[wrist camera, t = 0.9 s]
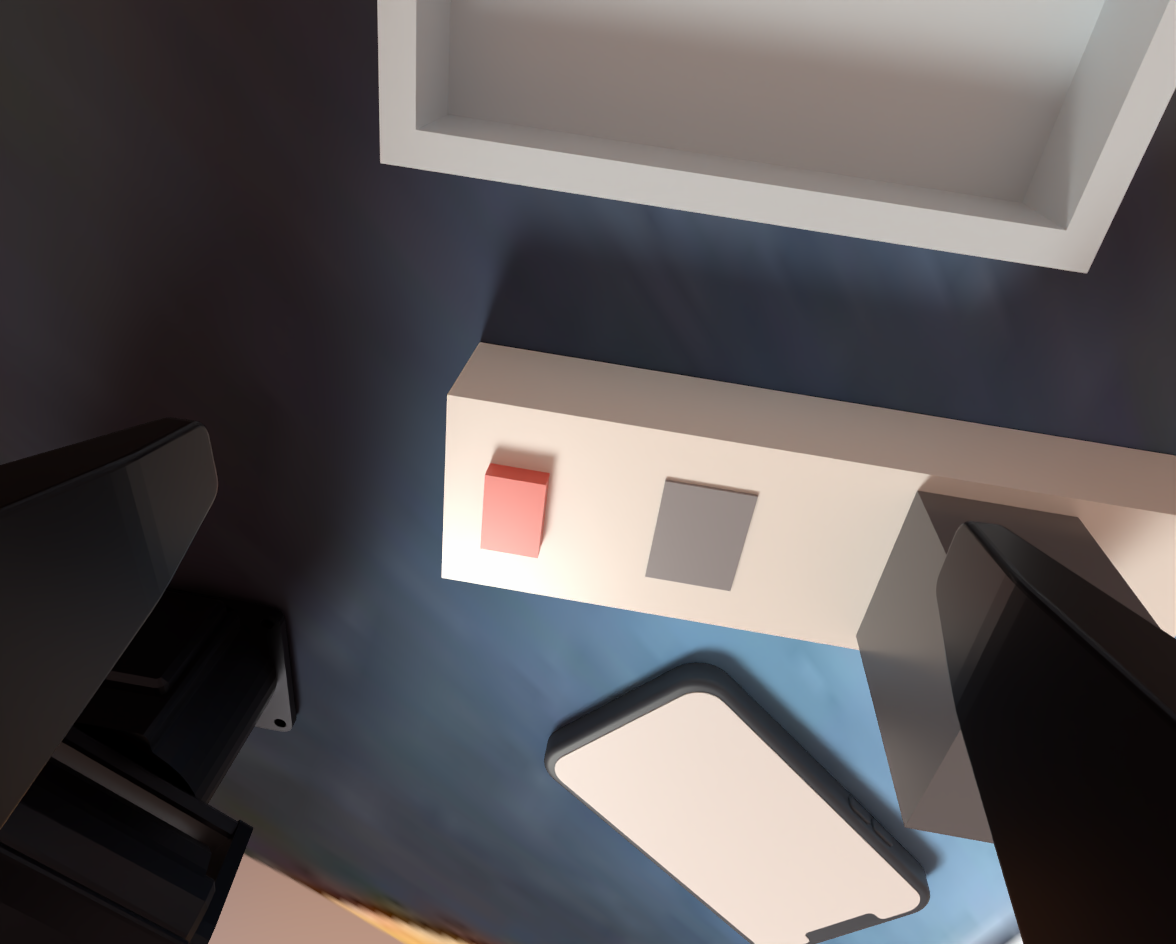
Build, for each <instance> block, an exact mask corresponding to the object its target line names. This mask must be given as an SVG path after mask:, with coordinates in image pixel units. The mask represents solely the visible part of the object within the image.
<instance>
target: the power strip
mask: <svg viewBox="0 0 1176 944" xmlns="http://www.w3.org/2000/svg"><path fill="white" fill-rule="evenodd" d="M917 490H918V491H924V492H930V493H936V494H942V495H948V496H954V497H960V498H966V499H972V500H978V501H984V502H990V503H996V504H1002V505H1008V506H1014V507H1020V508H1026V509H1032V510H1038V511H1044V512H1050V513H1056V514H1062V515H1068V516H1074V517H1078V518H1079V519H1080V520H1081V522H1082V523H1083V524H1084V526H1085V527H1086V528H1087V530H1088V531H1089V533H1090V534H1091V535H1092V537H1093V538H1094V539H1095V541H1096V542H1097V543H1098V545H1099V546H1100V547H1101V549H1102V550H1103V551H1104V553H1105V554H1106V555H1107V557H1108V558H1109V560H1110V561H1111V562H1112V564H1113V565H1114V566H1115V568H1116V569H1117V570H1118V572H1119V573H1120V574H1121V576H1122V577H1123V578H1124V580H1125V581H1126V583H1127V584H1128V585H1129V587H1130V588H1131V589H1132V591H1133V592H1134V593H1135V595H1136V596H1137V597H1138V599H1139V600H1140V601H1141V603H1142V604H1143V605H1144V607H1145V608H1146V610H1147V611H1148V612H1149V614H1150V615H1151V616H1152V618H1153V619H1154V620H1155V622H1156V623H1157V624H1158V626H1159V627H1160V628H1161V629H1162V630H1163V631H1165V632H1166V633H1168V634H1169V635H1171V636H1172V637H1175V635H1176V456H1174V455H1168V454H1162V453H1156V452H1150V451H1144V450H1138V449H1131V448H1125V447H1119V446H1113V445H1107V444H1101V443H1095V442H1089V441H1082V440H1076V439H1070V438H1064V437H1058V436H1052V435H1046V434H1039V433H1033V432H1027V431H1021V430H1015V429H1009V428H1003V427H997V426H990V425H984V424H978V423H972V422H966V421H960V420H954V419H947V418H941V417H935V416H929V415H923V414H917V413H911V412H905V411H898V410H892V409H886V408H880V407H874V406H868V405H862V404H856V403H849V402H843V401H837V400H831V399H825V398H819V397H813V396H806V395H800V394H794V393H788V392H782V391H776V390H770V389H764V388H757V387H751V386H745V385H739V384H733V383H727V382H721V381H715V380H708V379H702V378H696V377H690V376H684V375H678V374H672V373H665V372H659V371H653V370H647V369H641V368H635V367H629V366H623V365H616V364H610V363H604V362H598V361H592V360H586V359H580V358H574V357H567V356H561V355H555V354H549V353H543V352H537V351H531V350H524V349H518V348H512V347H506V346H500V345H494V344H488V343H482V342H479V344H478V346H477V347H476V349H475V351H474V352H473V354H472V355H471V357H470V359H469V360H468V362H467V364H466V365H465V367H464V368H463V370H462V372H461V373H460V375H459V376H458V378H457V380H456V381H455V383H454V385H453V386H452V388H451V389H450V391H449V393H448V394H447V419H446V452H445V485H444V517H443V550H442V578H447V579H453V580H459V581H464V582H470V583H476V584H482V585H487V586H493V587H499V588H505V589H510V590H516V591H522V592H528V593H534V594H539V595H545V596H551V597H557V598H562V599H568V600H574V601H580V602H585V603H591V604H597V605H603V606H609V607H614V608H620V609H626V610H632V611H637V612H643V613H649V614H655V615H660V616H666V617H672V618H678V619H684V620H689V621H695V622H701V623H707V624H712V625H718V626H724V627H730V628H736V629H741V630H747V631H753V632H759V633H764V634H770V635H776V636H782V637H787V638H793V639H799V640H805V641H811V642H816V643H822V644H828V645H834V646H839V647H845V648H851V649H857V650H859V646H858V642H857V638H856V634H857V632H858V629H859V627H860V625H861V622H862V620H863V618H864V615H865V613H866V611H867V608H868V606H869V603H870V601H871V599H872V596H873V594H874V592H875V589H876V587H877V584H878V582H879V580H880V577H881V575H882V573H883V570H884V568H885V566H886V563H887V561H888V558H889V556H890V554H891V551H892V549H893V547H894V544H895V542H896V539H897V537H898V535H899V532H900V530H901V528H902V525H903V523H904V520H905V518H906V516H907V513H908V511H909V509H910V506H911V504H912V502H913V499H914V497H915V494H916V492H917Z"/></svg>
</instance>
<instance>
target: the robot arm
mask: <svg viewBox="0 0 1176 944" xmlns="http://www.w3.org/2000/svg"><path fill="white" fill-rule="evenodd" d="M217 489H218V477H217V472H216V467H215V462H214V458H213V453H212V448H211V443H210V438H209V434H208V431H207V429H206V427H205V426H204V425H203V424H202V423H200V422H198V421H194V420H187V419H179V418H163V419H160V420H156V421H153V422H149V423H146V424H142V425H139V426H135V427H132V428H128V429H125V430H121V431H118V432H114V433H111V434H107V435H104V436H100V437H97V438H93V439H90V440H86V441H83V442H79V443H76V444H72V445H69V446H65V447H62V448H59V449H55V450H52V451H48V452H45V453H41V454H38V455H34V456H31V457H27V458H24V459H20V460H17V461H13V462H10V463H6V464H3V465H0V944H208V942H209V940H210V938H211V936H212V933H213V931H214V929H215V927H216V924H217V921H218V919H219V916H220V914H221V911H222V908H223V906H224V903H225V901H226V898H227V895H228V893H229V890H230V888H231V885H232V882H233V880H234V877H235V874H236V872H237V870H238V867H239V864H240V862H241V859H242V857H243V854H244V851H245V849H246V846H247V844H248V841H249V838H250V836H251V833H252V831H253V827H252V826H250V825H248V824H247V823H245V822H243V821H241V820H239V821H236V820H234V819H232V818H230V817H229V816H227V815H225V814H224V813H222V812H220V811H219V810H217V809H215V808H213V807H212V806H210V805H208V803H209V801H210V799H211V798H212V796H213V794H214V793H215V791H216V789H217V788H218V786H219V784H220V783H221V781H222V779H223V778H224V776H225V775H226V773H227V771H228V770H229V768H230V766H231V765H232V763H233V761H234V760H235V758H236V756H237V755H238V753H239V751H240V750H241V748H242V746H243V745H244V743H245V741H246V740H247V738H248V736H249V735H250V733H251V731H252V730H253V728H254V727H260V728H266V729H271V730H277V731H285V732H286V731H289V730H290V729H291V728H292V727H293V725H294V723H295V721H296V710H295V701H294V693H293V684H292V675H291V666H290V657H289V648H288V640H287V631H286V622H285V617H284V615H283V614H282V612H281V611H279V610H278V609H276V608H273V607H269V606H264V605H258V604H252V603H247V602H241V601H235V600H230V599H224V598H218V597H212V596H207V595H201V594H195V593H190V592H184V591H178V590H173V589H167V586H168V585H169V583H170V581H171V580H172V578H173V576H174V574H175V572H176V570H177V568H178V567H179V565H180V563H181V561H182V559H183V557H184V555H185V554H186V552H187V550H188V548H189V546H190V544H191V543H192V541H193V539H194V537H195V535H196V533H197V531H198V530H199V528H200V526H201V524H202V522H203V520H204V518H205V517H206V515H207V513H208V511H209V509H210V507H211V505H212V504H213V502H214V500H215V497H216V494H217ZM936 601H937V607H938V613H939V619H940V625H941V631H942V637H943V643H944V649H945V656H946V662H947V668H948V674H949V680H950V686H951V692H952V697H953V702H954V707H955V711H956V715H957V719H958V723H959V726H960V730H961V733H962V737H963V740H964V744H965V747H966V750H967V754H968V757H969V761H970V764H971V767H972V771H973V774H974V778H975V781H976V784H977V788H978V791H979V795H980V798H981V801H982V805H983V808H984V812H985V815H986V818H987V822H988V825H989V829H990V832H991V835H992V839H993V842H994V846H995V849H996V852H997V856H998V859H999V863H1000V866H1001V869H1002V873H1003V876H1004V879H1005V883H1006V886H1007V890H1008V893H1009V896H1010V900H1011V903H1012V907H1013V910H1014V913H1015V917H1016V920H1017V924H1018V927H1019V930H1020V934H1021V937H1022V941H1023V944H1176V639H1175V638H1174V637H1172V636H1171V635H1169V634H1168V633H1166V632H1165V631H1163V630H1162V629H1160V628H1159V627H1157V626H1155V625H1154V624H1152V623H1151V622H1149V621H1148V620H1146V619H1145V618H1143V617H1142V616H1140V615H1139V614H1137V613H1136V612H1134V611H1133V610H1131V609H1129V608H1128V607H1126V606H1125V605H1123V604H1122V603H1120V602H1119V601H1117V600H1116V599H1114V598H1113V597H1111V596H1110V595H1108V594H1107V593H1105V592H1103V591H1102V590H1100V589H1099V588H1097V587H1096V586H1094V585H1093V584H1091V583H1090V582H1088V581H1087V580H1085V579H1084V578H1082V577H1081V576H1079V575H1078V574H1076V573H1074V572H1073V571H1071V570H1070V569H1068V568H1067V567H1065V566H1064V565H1062V564H1061V563H1059V562H1058V561H1056V560H1055V559H1053V558H1052V557H1050V556H1048V555H1047V554H1045V553H1044V552H1042V551H1041V550H1039V549H1038V548H1036V547H1035V546H1033V545H1032V544H1030V543H1029V542H1027V541H1026V540H1024V539H1022V538H1021V537H1019V536H1018V535H1016V534H1015V533H1013V532H1012V531H1010V530H1009V529H1007V528H1006V527H1004V526H1002V525H998V524H992V523H984V522H976V521H966V522H964V523H963V524H961V525H960V527H959V528H958V529H957V531H956V533H955V535H954V538H953V540H952V543H951V545H950V547H949V550H948V552H947V555H946V557H945V560H944V562H943V564H942V567H941V569H940V572H939V574H938V577H937V582H936ZM269 620H270V621H269Z"/></svg>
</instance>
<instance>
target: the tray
mask: <svg viewBox="0 0 1176 944" xmlns="http://www.w3.org/2000/svg"><path fill="white" fill-rule="evenodd" d="M377 8H378V64H379V121H380V163H383V164H389V165H396V166H402V167H409V168H415V169H421V170H428V171H434V172H441V173H447V174H453V175H460V176H466V177H473V178H479V179H485V180H492V181H498V182H505V183H511V184H517V185H524V186H530V187H537V188H543V189H549V190H556V191H562V192H569V193H575V194H581V195H588V196H594V197H601V198H607V199H613V200H620V201H626V202H633V203H639V204H645V205H652V206H658V207H665V208H671V209H677V210H684V211H690V212H697V213H703V214H709V215H716V216H722V217H729V218H735V219H741V220H748V221H754V222H761V223H767V224H773V225H780V226H786V227H793V228H799V229H805V230H812V231H818V232H825V233H831V234H837V235H844V236H850V237H857V238H863V239H869V240H876V241H882V242H889V243H895V244H901V245H908V246H914V247H921V248H927V249H933V250H940V251H946V252H953V253H959V254H965V255H972V256H978V257H985V258H991V259H997V260H1004V261H1010V262H1017V263H1023V264H1029V265H1036V266H1042V267H1049V268H1055V269H1061V270H1068V271H1074V272H1081V273H1088V270H1089V268H1090V266H1091V264H1092V262H1093V260H1094V258H1095V256H1096V254H1097V252H1098V249H1099V247H1100V245H1101V243H1102V241H1103V239H1104V237H1105V235H1106V233H1107V231H1108V229H1109V226H1110V224H1111V222H1112V220H1113V218H1114V216H1115V214H1116V212H1117V210H1118V208H1119V205H1120V203H1121V201H1122V199H1123V197H1124V195H1125V193H1126V191H1127V189H1128V187H1129V184H1130V182H1131V180H1132V178H1133V176H1134V174H1135V172H1136V170H1137V168H1138V166H1139V164H1140V161H1141V159H1142V157H1143V155H1144V153H1145V151H1146V149H1147V147H1148V145H1149V143H1150V140H1151V138H1152V136H1153V134H1154V132H1155V130H1156V128H1157V126H1158V124H1159V122H1160V119H1161V117H1162V115H1163V113H1164V111H1165V109H1166V107H1167V105H1168V103H1169V101H1170V99H1171V96H1172V94H1173V92H1174V90H1175V88H1176V0H377Z"/></svg>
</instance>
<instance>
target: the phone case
mask: <svg viewBox="0 0 1176 944" xmlns="http://www.w3.org/2000/svg"><path fill="white" fill-rule="evenodd" d="M544 763H545V767H546V770H547V772H548V773H549V775H550V776H551V777H552V778H553V779H554V780H556V781H557V782H558V783H559V784H560V785H562V786H563V787H564V788H565V789H566V790H567V791H569V792H570V793H571V794H572V795H573V796H575V797H576V798H577V799H578V800H579V801H581V802H582V803H583V804H584V805H585V806H587V807H588V808H589V809H590V810H591V811H593V812H594V813H595V814H596V815H597V816H599V817H600V818H601V819H602V820H603V821H605V822H606V823H607V824H608V825H609V826H611V827H612V828H613V829H614V830H615V831H617V832H618V833H619V834H620V835H621V836H623V837H624V838H625V839H626V840H627V841H628V842H630V843H631V844H632V845H633V846H634V847H636V848H637V849H638V850H639V851H640V852H642V853H643V854H644V855H645V856H646V857H648V858H649V859H650V860H651V861H652V862H654V863H655V864H656V865H657V866H658V867H660V868H661V869H662V870H663V871H664V872H666V873H667V874H668V875H669V876H670V877H672V878H673V879H674V880H675V881H676V882H678V883H679V884H680V885H681V886H682V887H683V888H685V889H686V890H687V891H688V892H689V893H691V894H692V895H693V896H694V897H695V898H697V899H698V900H699V901H700V902H701V903H703V904H704V905H705V906H706V907H707V908H709V909H710V910H711V911H712V912H713V913H715V914H716V915H717V916H718V917H719V918H721V919H722V920H723V921H724V922H725V923H727V924H728V925H729V926H730V927H731V928H733V929H734V930H735V931H736V932H737V933H738V934H740V935H741V936H742V937H743V938H744V939H746V940H747V941H748V942H749V943H750V944H816V943H820V942H823V941H826V940H829V939H833V938H836V937H839V936H842V935H845V934H849V933H852V932H855V931H858V930H862V929H865V928H868V927H871V926H874V925H878V924H881V923H884V922H887V921H891V920H894V919H897V918H900V917H903V916H907V915H910V914H913V913H915V912H918V911H920V910H922V909H923V908H924V907H925V906H926V905H927V904H928V902H929V899H930V891H929V887H928V883H927V879H926V875H925V872H924V870H923V868H922V866H921V865H920V864H919V863H918V862H917V861H916V860H915V859H914V858H913V857H912V856H911V855H910V854H909V853H908V852H907V851H906V850H905V849H904V848H903V847H902V846H901V845H900V844H899V843H898V842H897V841H896V840H895V839H894V838H893V837H892V836H891V835H890V834H889V833H888V832H887V831H886V830H885V829H884V828H883V827H882V826H881V825H880V824H879V823H878V822H877V821H876V820H875V819H874V818H873V817H872V816H871V815H870V814H869V813H868V812H867V811H866V810H865V809H864V808H863V807H862V806H861V805H860V804H859V803H858V802H857V801H856V800H855V799H854V798H853V797H852V796H851V795H850V794H849V793H848V792H847V791H846V790H845V789H844V788H843V787H842V786H841V785H840V784H839V783H838V782H837V781H836V780H835V779H834V778H833V777H832V776H831V775H830V774H829V773H828V772H827V771H826V770H825V769H824V768H823V767H822V766H821V765H820V764H819V763H818V762H817V761H816V760H815V759H814V758H813V757H812V756H811V755H810V754H809V753H808V752H807V751H806V750H805V749H804V748H803V747H802V746H801V745H800V744H799V743H798V742H797V741H796V740H795V739H794V738H793V737H792V736H790V735H789V734H788V733H787V732H786V731H785V730H784V729H783V728H782V727H781V726H780V725H779V724H778V723H777V722H776V721H775V720H774V719H773V718H772V717H771V716H770V715H769V714H768V713H767V712H766V711H765V710H764V709H763V708H762V707H761V706H760V705H759V704H758V703H757V702H756V701H755V700H754V699H753V698H752V697H751V696H750V695H749V694H748V693H747V692H746V691H745V690H744V689H743V688H742V687H741V686H740V685H739V684H738V683H736V682H735V681H734V680H733V679H732V678H731V677H730V676H729V675H728V674H727V673H726V672H725V671H723V670H722V669H720V668H718V667H716V666H714V665H711V664H706V663H688V664H684V665H681V666H678V667H676V668H674V669H672V670H670V671H668V672H667V673H665V674H663V675H661V676H659V677H657V678H655V679H653V680H651V681H650V682H648V683H646V684H644V685H642V686H640V687H638V688H636V689H634V690H633V691H631V692H629V693H627V694H625V695H623V696H621V697H619V698H618V699H616V700H614V701H612V702H610V703H608V704H606V705H604V706H602V707H601V708H599V709H597V710H595V711H593V712H591V713H589V714H587V715H585V716H584V717H582V718H580V719H578V720H576V721H574V722H572V723H570V724H568V725H567V726H565V727H563V728H561V729H559V730H557V731H556V732H554V733H553V734H552V735H551V736H550V738H549V740H548V743H547V748H546V753H545V758H544Z"/></svg>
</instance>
